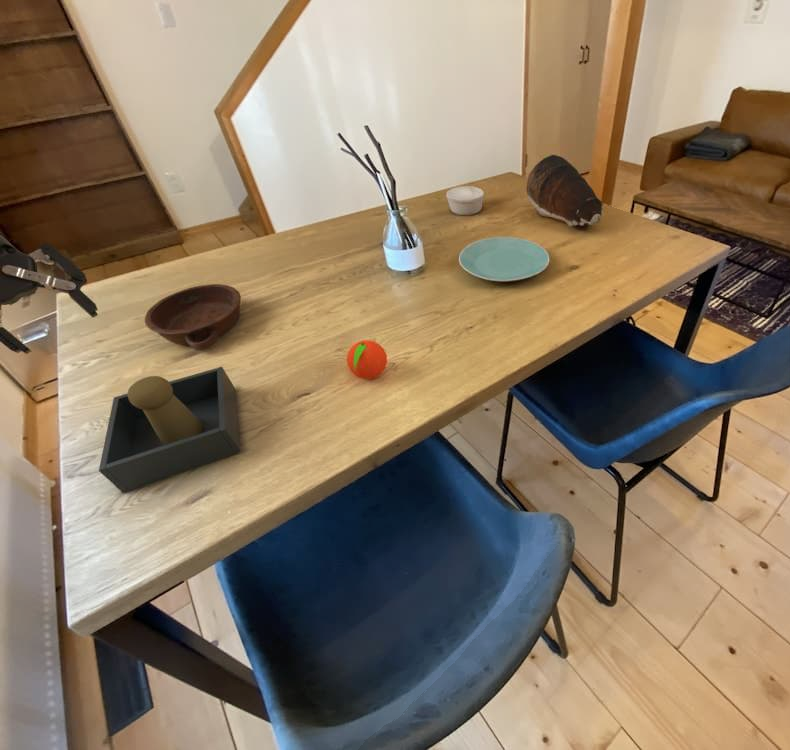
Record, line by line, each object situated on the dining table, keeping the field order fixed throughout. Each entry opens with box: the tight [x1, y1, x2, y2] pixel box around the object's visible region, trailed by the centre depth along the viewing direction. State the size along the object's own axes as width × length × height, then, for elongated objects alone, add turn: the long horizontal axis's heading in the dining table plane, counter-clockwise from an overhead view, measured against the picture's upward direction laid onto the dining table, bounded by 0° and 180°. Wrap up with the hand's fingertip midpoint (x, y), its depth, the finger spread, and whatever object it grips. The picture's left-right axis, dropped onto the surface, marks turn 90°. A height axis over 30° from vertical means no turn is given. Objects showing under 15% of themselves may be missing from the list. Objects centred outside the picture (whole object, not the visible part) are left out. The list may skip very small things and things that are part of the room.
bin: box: [98, 366, 242, 494], centre depth 68 cm, size 16×16×6 cm
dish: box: [144, 283, 242, 351], centre depth 90 cm, size 18×22×5 cm
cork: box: [127, 375, 204, 446], centre depth 66 cm, size 6×6×11 cm
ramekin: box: [445, 185, 485, 216], centre depth 133 cm, size 11×11×5 cm
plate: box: [458, 236, 550, 283], centre depth 107 cm, size 22×22×3 cm
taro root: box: [525, 154, 605, 227], centre depth 124 cm, size 15×15×25 cm
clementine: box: [346, 339, 388, 380], centre depth 77 cm, size 8×7×7 cm
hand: (63, 332), depth 60 cm, fingers open, 8 cm apart
